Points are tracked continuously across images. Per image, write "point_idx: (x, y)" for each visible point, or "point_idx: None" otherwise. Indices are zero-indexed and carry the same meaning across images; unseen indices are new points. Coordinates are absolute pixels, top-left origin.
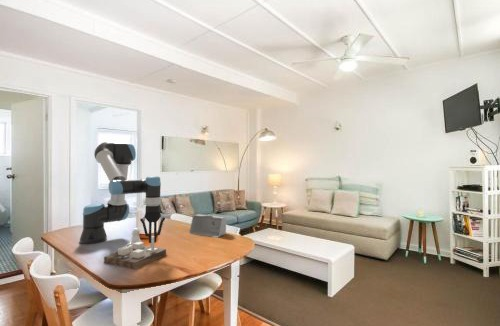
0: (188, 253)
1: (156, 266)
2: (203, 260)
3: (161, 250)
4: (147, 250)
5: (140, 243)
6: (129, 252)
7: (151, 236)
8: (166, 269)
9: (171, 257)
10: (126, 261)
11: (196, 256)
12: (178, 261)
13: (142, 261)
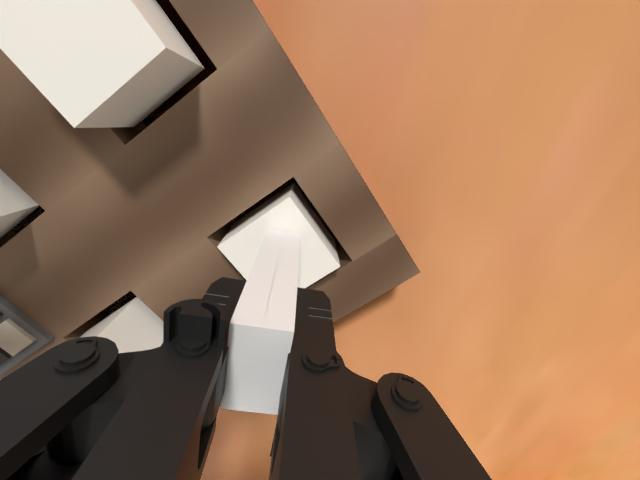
0: (563, 306)
1: (270, 426)
2: (543, 452)
3: (365, 290)
4: (225, 249)
5: (104, 74)
6: (20, 210)
7: (233, 353)
8: None
9: (411, 329)
10: None
11: (560, 384)
12: None
13: None
